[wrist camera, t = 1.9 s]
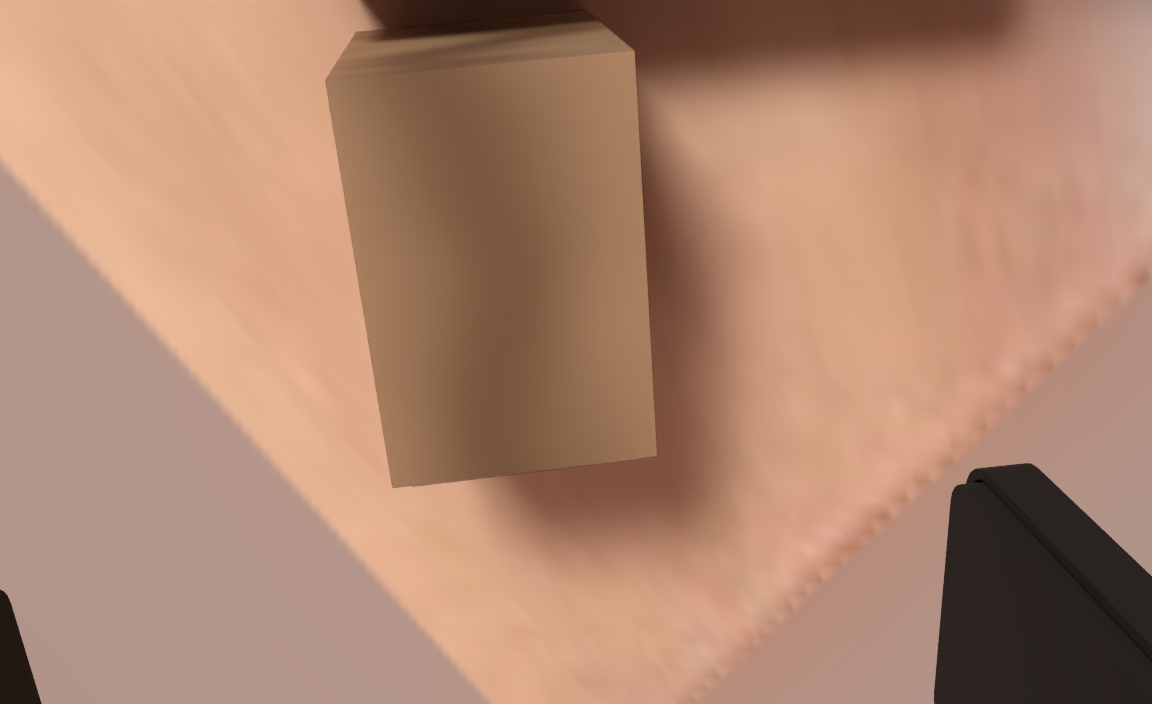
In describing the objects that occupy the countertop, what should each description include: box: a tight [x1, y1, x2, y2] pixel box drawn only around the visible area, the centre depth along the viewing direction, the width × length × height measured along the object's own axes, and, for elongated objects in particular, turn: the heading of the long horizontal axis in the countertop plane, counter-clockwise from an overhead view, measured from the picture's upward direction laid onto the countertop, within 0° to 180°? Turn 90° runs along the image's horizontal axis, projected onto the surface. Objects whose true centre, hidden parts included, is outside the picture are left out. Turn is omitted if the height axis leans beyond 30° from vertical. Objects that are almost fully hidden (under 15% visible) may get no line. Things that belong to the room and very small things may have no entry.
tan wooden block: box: [325, 11, 657, 488], centre depth 27 cm, size 6×10×8 cm, turn 4°
